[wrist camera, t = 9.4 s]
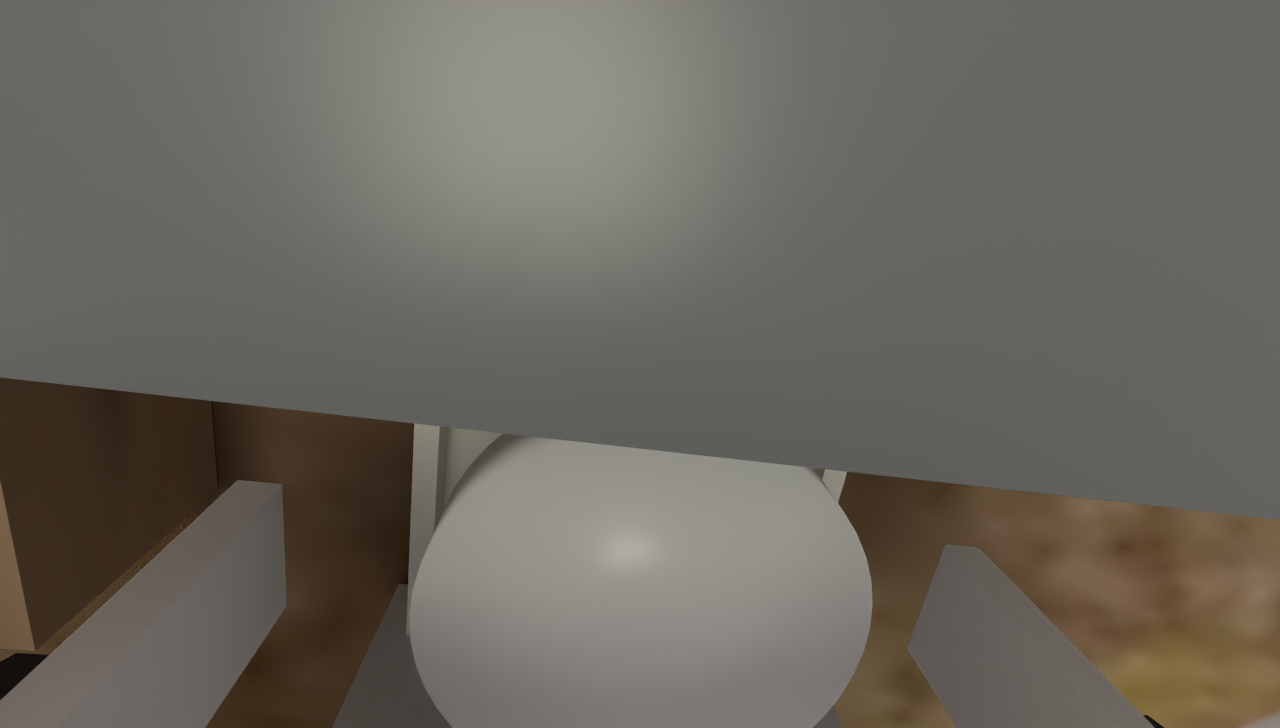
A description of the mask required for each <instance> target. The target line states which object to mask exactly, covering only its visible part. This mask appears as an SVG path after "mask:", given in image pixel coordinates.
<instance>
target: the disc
mask: <svg viewBox="0 0 1280 728" xmlns="http://www.w3.org/2000/svg"><path fill="white" fill-rule="evenodd" d="M872 605H873V604H872V584H871V577H870V572H869V568H868V563H867V559H866V555H865V553H864V550H863V548H862V545H861V543H860V540H859V538H858V535H857V533H856V531H855V530H854V528H853V526H852V525H851V523H850V521H849V520H848V518H847V516H846V515H845V513H844V511H843V510H842V508H841V507H840V505H839V504H838V502H837V501H836V499H835V498H834V496H833V495H832V493H831V492H830V490H829V489H828V487H827V486H826V484H825V483H824V481H823V480H822V478H821V477H820V475H819V474H818V472H817V471H816V469H815V468H810V467H801V466H792V465H783V464H774V463H765V462H756V461H747V460H738V459H729V458H720V457H711V456H702V455H693V454H684V453H675V452H666V451H657V450H648V449H639V448H630V447H621V446H612V445H603V444H594V443H585V442H576V441H567V440H558V439H549V438H540V437H531V436H522V435H513V434H504V433H503V434H502V435H501V436H499V437H498V438H497V439H496V440H495V441H493V442H492V443H491V444H490V445H489V446H487V447H486V449H485V450H484V451H483V452H482V453H481V454H480V455H479V456H478V457H477V458H476V459H475V460H474V462H473V463H472V464H471V465H470V466H469V467H468V469H467V470H466V472H465V473H464V475H463V476H462V477H461V479H460V480H459V482H458V483H457V485H456V486H455V488H454V490H453V492H452V494H451V496H450V498H449V500H448V502H447V504H446V507H445V509H444V511H443V513H442V515H441V518H440V520H439V522H438V525H437V527H436V529H435V532H434V534H433V536H432V539H431V541H430V543H429V545H428V548H427V550H426V552H425V555H424V557H423V559H422V562H421V564H420V567H419V570H418V574H417V577H416V580H415V584H414V587H413V591H412V599H411V607H410V614H409V618H410V641H411V645H412V650H413V655H414V660H415V664H416V667H417V669H418V672H419V675H420V677H421V680H422V682H423V685H424V687H425V689H426V691H427V692H428V694H429V696H430V698H431V699H432V701H433V703H434V704H435V706H436V708H437V709H438V710H439V712H440V713H441V714H442V715H443V717H444V718H445V719H446V720H447V722H448V723H449V724H450V725H451V727H452V728H813V727H814V726H815V725H816V724H817V723H818V722H819V721H820V720H821V719H822V718H823V717H824V716H825V715H826V714H827V712H828V711H829V710H830V709H831V707H832V706H833V705H834V704H835V702H836V701H837V700H838V699H839V697H840V696H841V695H842V693H843V691H844V690H845V688H846V687H847V685H848V683H849V682H850V680H851V678H852V677H853V675H854V673H855V671H856V668H857V666H858V664H859V661H860V659H861V657H862V655H863V652H864V649H865V645H866V641H867V638H868V634H869V630H870V624H871V614H872Z"/></svg>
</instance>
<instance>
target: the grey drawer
mask: <svg viewBox="0 0 1280 728" xmlns="http://www.w3.org/2000/svg"><path fill="white" fill-rule="evenodd" d="M502 434H503V433H495V432H486V431H477V430H468V429H459V428H450V427H441V426H433V425H424V424H415V423H414V444H413V470H412V496H411V522H410V547H409V573H408V584H399V585H398V587H397V589H396V591H395V593H394V595H393V597H392V600H391V602H390V604H389V606H388V608H387V610H386V612H385V615H384V617H383V619H382V621H381V623H380V625H379V627H378V629H377V632H376V634H375V636H374V638H373V640H372V642H371V644H370V647H369V649H368V651H367V653H366V655H365V657H364V659H363V662H362V664H361V666H360V668H359V670H358V672H357V674H356V677H355V679H354V681H353V683H352V685H351V687H350V689H349V692H348V694H347V696H346V698H345V700H344V702H343V704H342V707H341V709H340V711H339V713H338V715H337V717H336V719H335V722H334V724H333V726H332V728H452V727H451V725H450V724H449V723H448V722H447V720H446V719H445V718H444V717H443V715H442V714H441V713H440V712H439V710H438V709H437V708H436V706H435V704H434V703H433V701H432V699H431V698H430V696H429V694H428V692H427V691H426V689H425V687H424V685H423V682H422V680H421V677H420V675H419V672H418V669H417V667H416V664H415V660H414V655H413V650H412V645H411V641H410V618H409V614H410V607H411V599H412V591H413V587H414V584H415V580H416V577H417V574H418V570H419V567H420V564H421V562H422V559H423V557H424V555H425V552H426V550H427V548H428V545H429V543H430V541H431V539H432V536H433V534H434V532H435V529H436V527H437V525H438V522H439V520H440V518H441V515H442V513H443V511H444V509H445V507H446V504H447V502H448V500H449V498H450V496H451V494H452V492H453V490H454V488H455V486H456V485H457V483H458V482H459V480H460V479H461V477H462V476H463V475H464V473H465V472H466V470H467V469H468V467H469V466H470V465H471V464H472V463H473V462H474V460H475V459H476V458H477V457H478V456H479V455H480V454H481V453H482V452H483V451H484V450H485V449H486V447H487V446H489V445H490V444H491V443H492V442H493V441H495V440H496V439H497V438H498V437H499V436H501V435H502ZM815 469H816V471H817V472H818V474H819V475H820V477H821V478H822V480H823V481H824V483H825V484H826V486H827V487H828V489H829V490H830V492H831V493H832V495H833V496H834V498H835V499H836V501H837V502H838V501H839V498H840V495H841V491H842V488H843V484H844V481H845V478H846V474H847V472H846V471H837V470H828V469H819V468H815ZM813 728H842V725H841V723H840V721H839V718H838V716H837V713H836V711H835V709H834V706H832V707H831V709H830V710H829V711H828V712H827V714H826V715H825V716H824V717H823V718H822V719H821V720H820V721H819V722H818V723H817V724H816V725H815V726H814V727H813Z"/></svg>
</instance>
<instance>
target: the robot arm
mask: <svg viewBox="0 0 1280 728" xmlns="http://www.w3.org/2000/svg"><path fill="white" fill-rule="evenodd" d="M286 606H287V601H286V574H285V547H284V520H283V493H282V484H277V483H266V482H255V481H244V480H237V481H236V482H235V483H234V484H233V485H232V486H231V487H230V488H228V489H227V490H226V491H225V492H224V493H223V494H222V495H221V496H220V497H219V498H218V499H217V500H216V501H214V502H213V503H212V504H211V505H210V506H209V507H208V508H207V509H206V510H205V511H204V512H203V513H202V514H200V515H199V516H198V517H197V518H196V519H195V520H194V521H193V522H192V523H191V524H190V525H189V526H188V527H186V528H185V529H184V530H183V531H182V532H181V533H180V534H179V535H178V536H177V537H176V538H175V539H174V540H172V541H171V542H170V543H169V544H168V545H167V546H166V547H165V548H164V549H163V550H162V551H161V552H160V553H158V554H157V555H156V556H155V557H154V558H153V559H152V560H151V561H150V562H149V563H148V564H147V565H146V566H144V567H143V568H142V569H141V570H140V571H139V572H138V573H137V574H136V575H135V576H134V577H133V578H132V579H130V580H129V581H128V582H127V583H126V584H125V585H124V586H123V587H122V588H121V589H120V590H119V591H118V592H117V593H115V594H114V595H113V596H112V597H111V598H110V599H109V600H108V601H107V602H106V603H105V604H104V605H103V606H101V607H100V608H99V609H98V610H97V611H96V612H95V613H94V614H93V615H92V616H91V617H90V618H89V619H87V620H86V621H85V622H84V623H83V624H82V625H81V626H80V627H79V628H78V629H77V630H76V631H75V632H73V633H72V634H71V635H70V636H69V637H68V638H67V639H66V640H65V641H64V642H63V643H62V644H61V645H59V646H58V647H57V648H56V649H55V650H54V651H53V652H52V653H51V654H50V655H40V654H22V653H15V654H14V655H12V656H10V657H8V658H6V659H5V660H3V661H1V662H0V728H205V727H206V726H207V724H208V723H209V721H210V720H211V718H212V717H213V715H214V714H215V712H216V711H217V709H218V708H219V706H220V705H221V703H222V702H223V700H224V699H225V697H226V696H227V695H228V693H229V692H230V690H231V689H232V687H233V686H234V684H235V683H236V681H237V680H238V678H239V677H240V675H241V674H242V672H243V671H244V669H245V668H246V666H247V665H248V663H249V662H250V660H251V659H252V657H253V656H254V654H255V653H256V651H257V650H258V648H259V647H260V645H261V644H262V642H263V641H264V639H265V638H266V636H267V635H268V633H269V632H270V630H271V629H272V627H273V626H274V624H275V623H276V621H277V620H278V618H279V617H280V615H281V614H282V612H283V611H284V609H285V608H286ZM907 650H908V651H909V653H910V654H911V656H912V658H913V659H914V661H915V662H916V664H917V665H918V667H919V669H920V670H921V672H922V673H923V675H924V676H925V678H926V680H927V681H928V683H929V684H930V686H931V688H932V689H933V691H934V692H935V694H936V695H937V697H938V699H939V700H940V702H941V703H942V705H943V706H944V708H945V710H946V711H947V713H948V714H949V716H950V718H951V719H952V721H953V722H954V724H955V725H956V727H957V728H1164V727H1163V726H1161V725H1160V724H1159V723H1157V722H1156V721H1155V720H1153V719H1152V718H1150V717H1149V716H1148V715H1142V714H1141V713H1140V712H1139V711H1138V710H1137V709H1136V708H1135V707H1134V706H1133V705H1132V704H1131V703H1130V702H1129V701H1128V700H1127V699H1126V698H1125V697H1124V696H1123V695H1122V694H1121V693H1120V692H1119V691H1118V690H1117V688H1116V687H1115V686H1114V685H1113V684H1112V683H1111V682H1110V681H1109V680H1108V679H1107V678H1106V677H1105V676H1104V675H1103V674H1102V673H1101V672H1100V671H1099V670H1098V669H1097V668H1096V667H1095V666H1094V665H1093V664H1092V663H1091V662H1090V661H1089V660H1088V659H1087V658H1086V657H1085V656H1084V655H1083V654H1082V653H1081V652H1080V651H1079V650H1078V649H1077V648H1076V647H1075V646H1074V644H1073V643H1072V642H1071V641H1070V640H1069V639H1068V638H1067V637H1066V636H1065V635H1064V634H1063V633H1062V632H1061V631H1060V630H1059V629H1058V628H1057V627H1056V626H1055V625H1054V624H1053V623H1052V622H1051V621H1050V620H1049V619H1048V618H1047V617H1046V616H1045V615H1044V614H1043V613H1042V612H1041V611H1040V610H1039V609H1038V608H1037V607H1036V606H1035V605H1034V604H1033V603H1032V601H1031V600H1030V599H1029V598H1028V597H1027V596H1026V595H1025V594H1024V593H1023V592H1022V591H1021V590H1020V589H1019V588H1018V587H1017V586H1016V585H1015V584H1014V583H1013V582H1012V581H1011V580H1010V579H1009V578H1008V577H1007V576H1006V575H1005V574H1004V573H1003V572H1002V571H1001V570H1000V569H999V568H998V567H997V566H996V565H995V564H994V563H993V562H992V561H991V560H990V558H989V557H988V556H987V555H986V554H985V553H984V552H983V551H982V550H981V549H980V548H979V547H968V546H957V545H946V544H945V546H944V549H943V551H942V554H941V557H940V560H939V562H938V565H937V568H936V571H935V573H934V576H933V579H932V581H931V584H930V587H929V590H928V592H927V595H926V598H925V600H924V603H923V606H922V609H921V611H920V614H919V617H918V620H917V622H916V625H915V628H914V630H913V633H912V636H911V639H910V641H909V644H908V647H907Z"/></svg>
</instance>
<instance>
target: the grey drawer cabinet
mask: <svg viewBox="0 0 1280 728" xmlns="http://www.w3.org/2000/svg"><path fill="white" fill-rule="evenodd" d="M0 377H1V378H10V379H19V380H28V381H37V382H46V383H55V384H64V385H73V386H82V387H91V388H100V389H109V390H118V391H127V392H136V393H145V394H154V395H163V396H172V397H181V398H190V399H199V400H208V401H217V402H226V403H235V404H244V405H253V406H262V407H271V408H280V409H289V410H298V411H307V412H316V413H325V414H334V415H343V416H352V417H361V418H370V419H379V420H388V421H397V422H406V423H415V424H424V425H433V426H441V427H450V428H459V429H468V430H477V431H486V432H495V433H504V434H513V435H522V436H531V437H540V438H549V439H558V440H567V441H576V442H585V443H594V444H603V445H612V446H621V447H630V448H639V449H648V450H657V451H666V452H675V453H684V454H693V455H702V456H711V457H720V458H729V459H738V460H747V461H756V462H765V463H774V464H783V465H792V466H801V467H810V468H819V469H828V470H837V471H846V472H855V473H864V474H873V475H882V476H891V477H900V478H909V479H918V480H927V481H936V482H945V483H954V484H963V485H972V486H981V487H990V488H999V489H1008V490H1017V491H1026V492H1035V493H1044V494H1053V495H1062V496H1071V497H1080V498H1089V499H1098V500H1107V501H1116V502H1125V503H1134V504H1143V505H1152V506H1161V507H1170V508H1179V509H1188V510H1197V511H1206V512H1215V513H1224V514H1233V515H1242V516H1251V517H1260V518H1269V519H1278V520H1280V0H0Z"/></svg>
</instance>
